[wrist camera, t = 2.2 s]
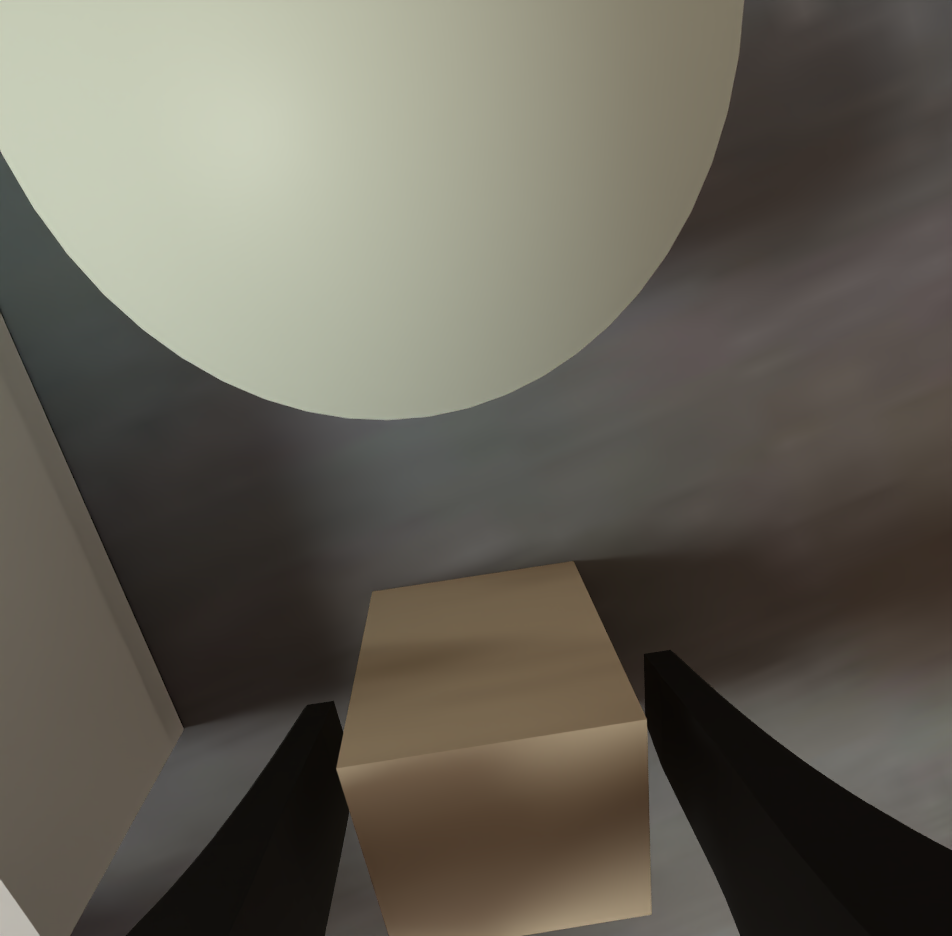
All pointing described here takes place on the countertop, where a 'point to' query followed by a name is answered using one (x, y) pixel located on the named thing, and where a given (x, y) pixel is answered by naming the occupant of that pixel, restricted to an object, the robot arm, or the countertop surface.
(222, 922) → the robot arm
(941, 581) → the countertop surface
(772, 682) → the countertop surface
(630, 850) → the wooden cube
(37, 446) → the box
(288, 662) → the countertop surface
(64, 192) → the sage cylinder
